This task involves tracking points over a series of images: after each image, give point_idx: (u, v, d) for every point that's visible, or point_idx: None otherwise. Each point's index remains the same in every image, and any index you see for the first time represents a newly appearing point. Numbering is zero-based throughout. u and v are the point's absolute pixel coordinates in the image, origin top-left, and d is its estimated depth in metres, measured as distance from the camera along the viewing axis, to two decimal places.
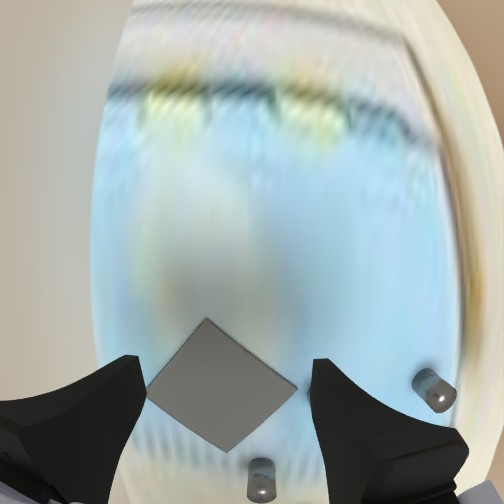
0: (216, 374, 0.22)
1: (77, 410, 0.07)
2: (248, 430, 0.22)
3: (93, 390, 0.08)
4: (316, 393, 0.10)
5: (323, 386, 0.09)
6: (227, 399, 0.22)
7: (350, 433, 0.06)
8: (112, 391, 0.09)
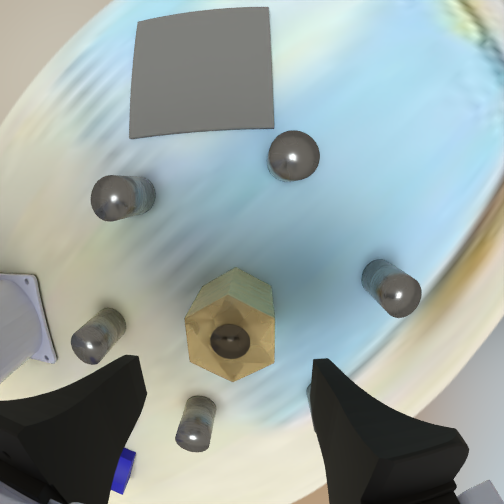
0: (223, 47, 0.16)
1: (77, 410, 0.07)
2: (180, 126, 0.17)
3: (93, 390, 0.08)
4: (316, 393, 0.10)
5: (323, 386, 0.09)
6: (202, 75, 0.16)
7: (350, 433, 0.06)
8: (112, 391, 0.09)
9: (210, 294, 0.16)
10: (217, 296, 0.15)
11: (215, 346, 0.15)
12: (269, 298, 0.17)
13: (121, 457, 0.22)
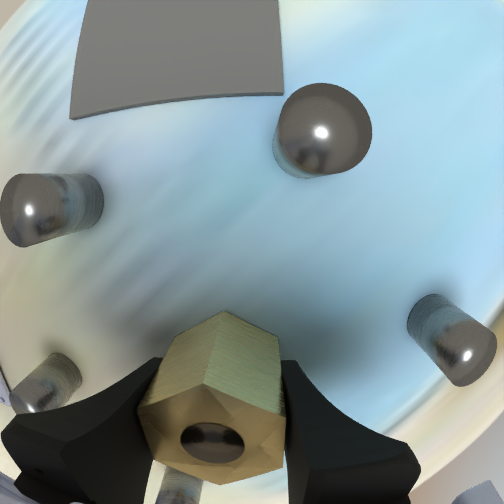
0: None
1: (115, 419, 0.07)
2: (138, 95, 0.10)
3: (129, 396, 0.08)
4: None
5: (284, 388, 0.09)
6: (174, 23, 0.09)
7: (297, 439, 0.06)
8: None
9: (180, 364, 0.09)
10: (188, 378, 0.08)
11: (189, 448, 0.08)
12: (276, 367, 0.10)
13: None
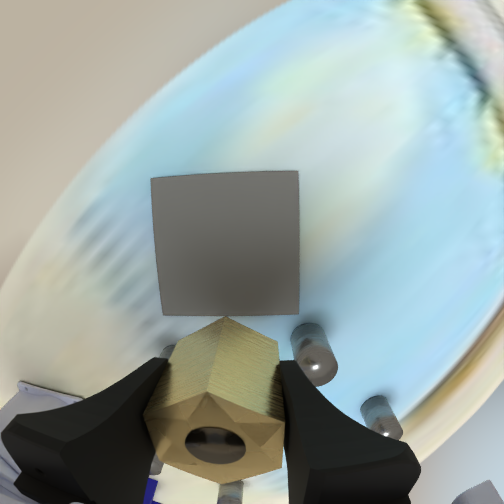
0: (249, 227, 0.18)
1: (115, 419, 0.07)
2: (212, 310, 0.19)
3: (129, 396, 0.08)
4: None
5: (284, 388, 0.09)
6: (230, 261, 0.19)
7: (297, 439, 0.06)
8: (145, 396, 0.09)
9: (184, 371, 0.10)
10: (191, 385, 0.08)
11: (193, 450, 0.08)
12: (276, 373, 0.10)
13: None
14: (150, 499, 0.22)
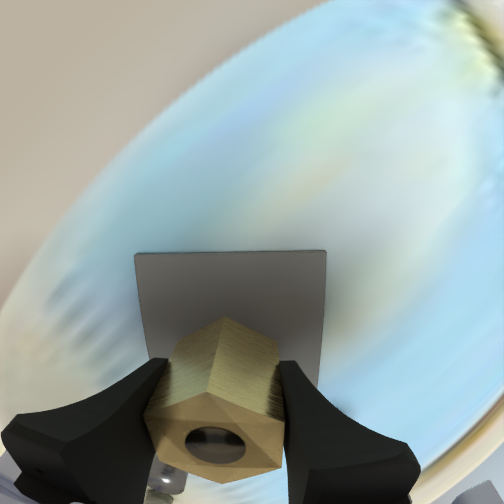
0: (262, 321, 0.14)
1: (115, 419, 0.07)
2: None
3: (129, 396, 0.08)
4: None
5: (284, 388, 0.09)
6: None
7: (297, 439, 0.06)
8: (146, 396, 0.09)
9: (184, 371, 0.10)
10: (191, 386, 0.08)
11: (193, 449, 0.08)
12: (276, 373, 0.10)
13: None
14: None
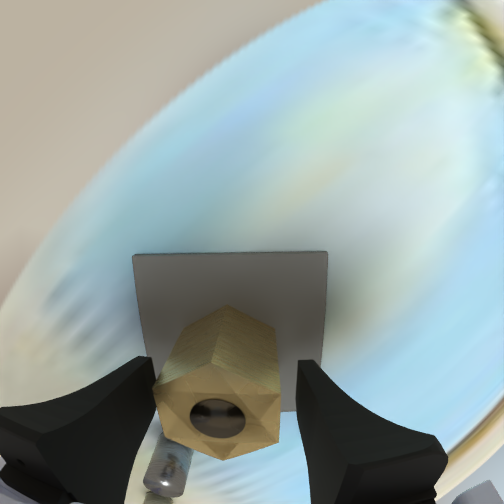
0: None
1: (94, 414, 0.07)
2: None
3: (109, 393, 0.08)
4: (300, 394, 0.10)
5: (305, 387, 0.09)
6: None
7: (326, 436, 0.06)
8: (127, 393, 0.09)
9: (190, 350, 0.11)
10: (197, 360, 0.10)
11: (197, 423, 0.10)
12: (273, 353, 0.12)
13: None
14: None
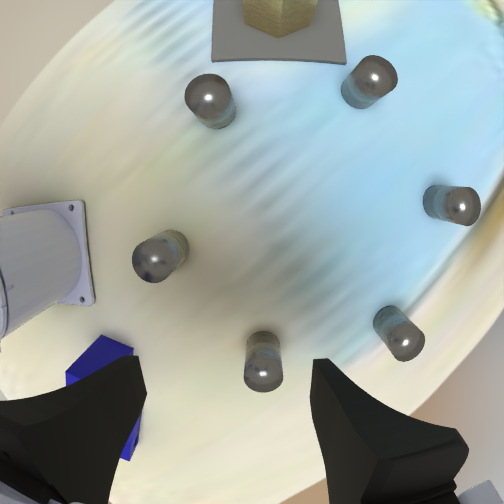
0: None
1: (77, 410, 0.07)
2: (263, 53, 0.17)
3: (93, 390, 0.08)
4: (316, 393, 0.10)
5: (323, 386, 0.09)
6: None
7: (350, 433, 0.06)
8: (112, 391, 0.09)
9: None
10: None
11: None
12: None
13: None
14: None
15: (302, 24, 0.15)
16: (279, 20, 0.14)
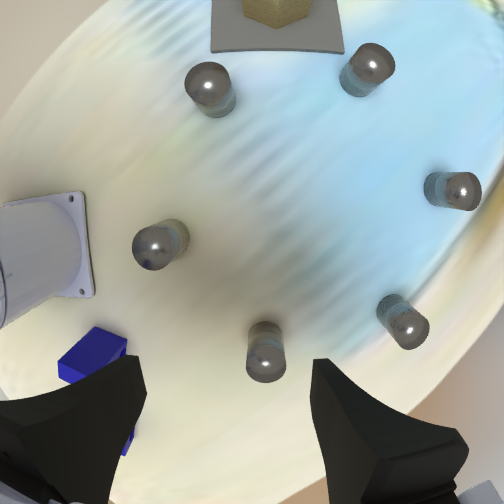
0: None
1: (77, 410, 0.07)
2: (261, 43, 0.17)
3: (93, 390, 0.08)
4: (316, 393, 0.10)
5: (323, 386, 0.09)
6: None
7: (350, 433, 0.06)
8: (112, 391, 0.09)
9: None
10: None
11: None
12: None
13: None
14: (110, 356, 0.19)
15: (300, 15, 0.15)
16: (277, 10, 0.14)
